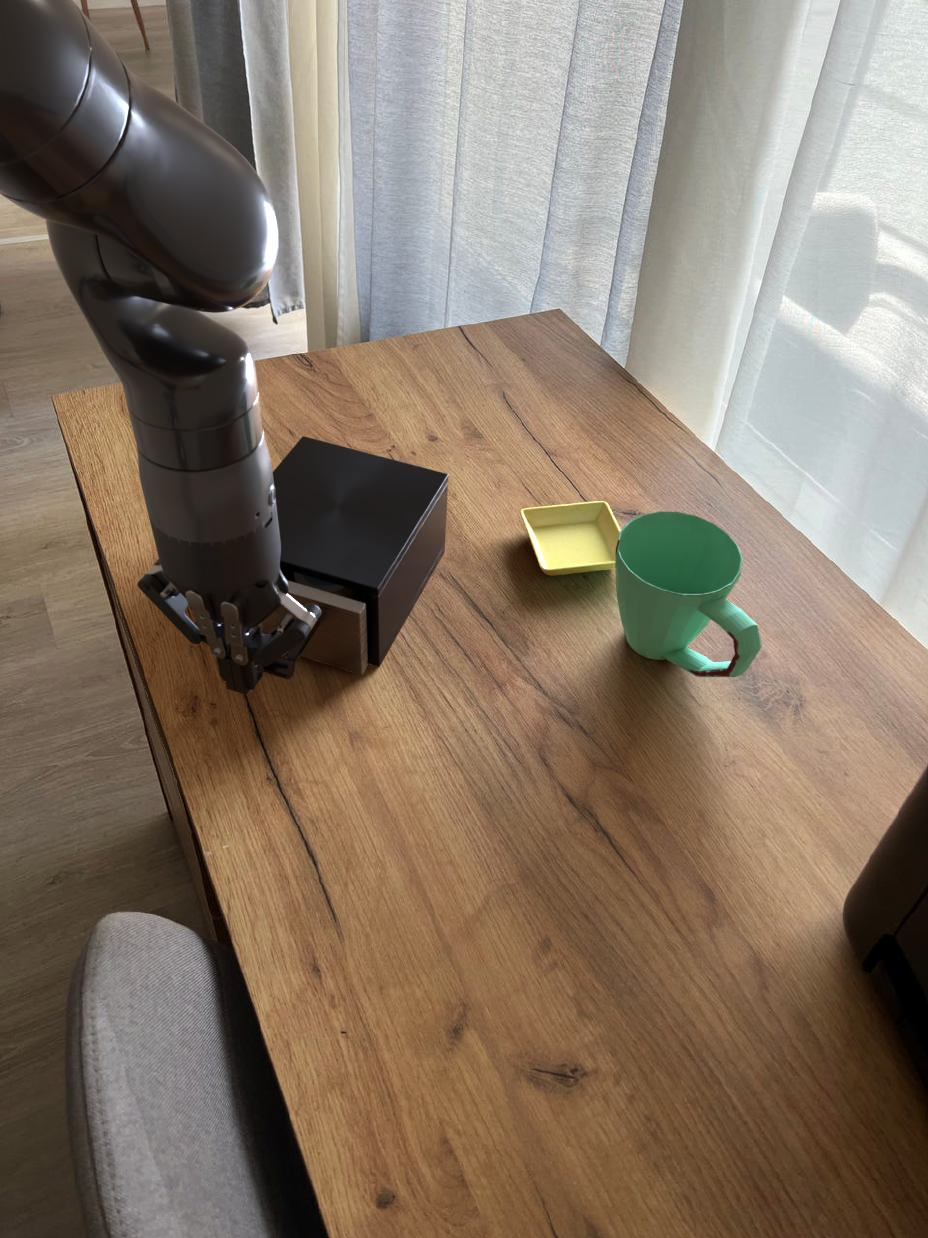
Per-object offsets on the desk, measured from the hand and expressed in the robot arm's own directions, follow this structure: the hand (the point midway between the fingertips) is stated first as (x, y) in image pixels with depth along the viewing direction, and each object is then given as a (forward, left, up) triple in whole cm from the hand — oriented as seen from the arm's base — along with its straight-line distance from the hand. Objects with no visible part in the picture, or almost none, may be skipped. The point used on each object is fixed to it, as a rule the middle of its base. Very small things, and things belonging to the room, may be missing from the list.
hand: (244, 684), depth 70 cm
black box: (+15, +6, -5) cm, 17 cm away
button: (+13, +5, -3) cm, 14 cm away
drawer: (+10, +4, -4) cm, 12 cm away
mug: (+28, -20, -5) cm, 35 cm away
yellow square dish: (+33, -6, -5) cm, 34 cm away
